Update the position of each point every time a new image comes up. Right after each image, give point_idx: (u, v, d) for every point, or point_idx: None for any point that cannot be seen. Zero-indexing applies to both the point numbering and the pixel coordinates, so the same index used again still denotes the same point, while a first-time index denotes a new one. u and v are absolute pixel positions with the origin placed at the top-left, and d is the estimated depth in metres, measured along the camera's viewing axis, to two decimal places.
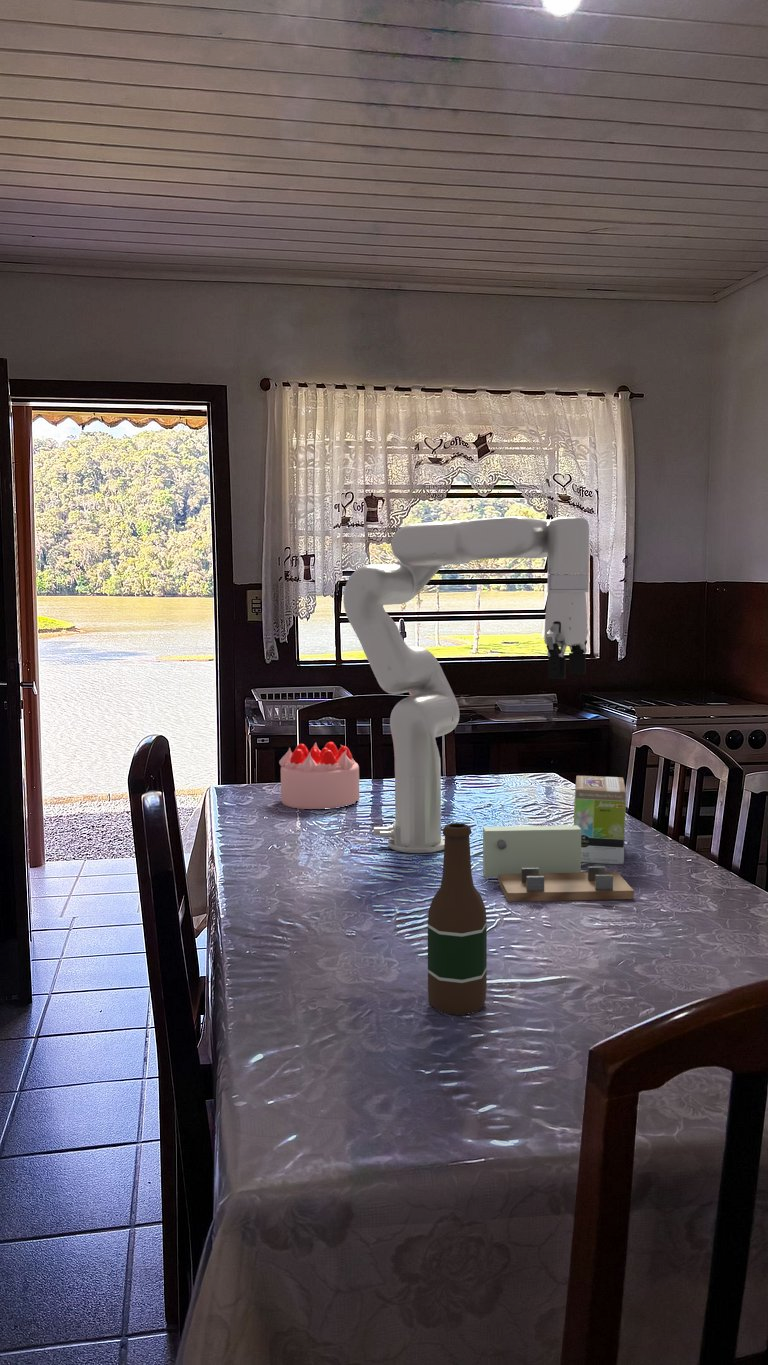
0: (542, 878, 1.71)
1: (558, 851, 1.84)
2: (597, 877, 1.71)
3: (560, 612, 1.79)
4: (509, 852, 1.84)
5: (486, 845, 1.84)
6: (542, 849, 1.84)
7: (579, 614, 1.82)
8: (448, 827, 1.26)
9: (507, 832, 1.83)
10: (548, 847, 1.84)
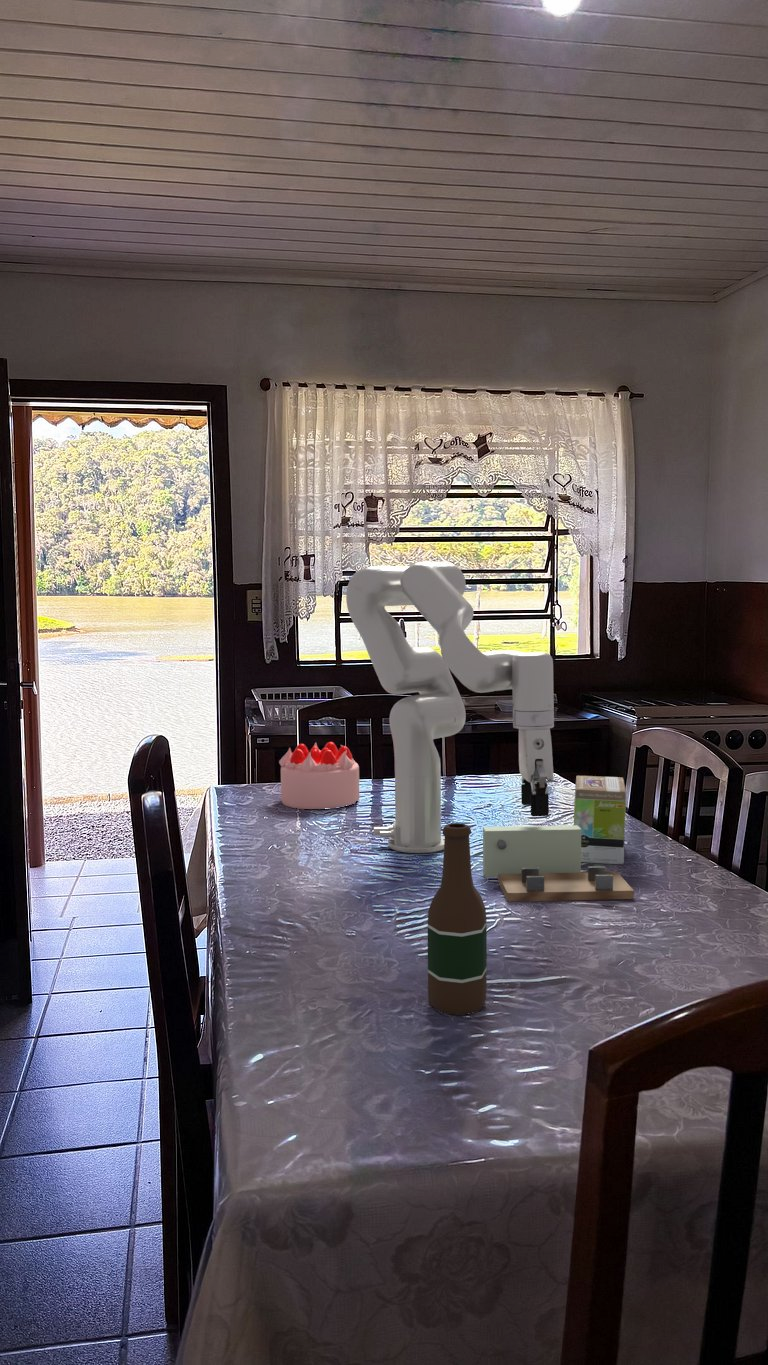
0: (542, 878, 1.71)
1: (558, 851, 1.84)
2: (597, 877, 1.71)
3: None
4: (509, 852, 1.84)
5: (486, 845, 1.84)
6: (542, 849, 1.84)
7: (520, 749, 1.84)
8: (448, 827, 1.26)
9: (507, 832, 1.83)
10: (548, 847, 1.84)
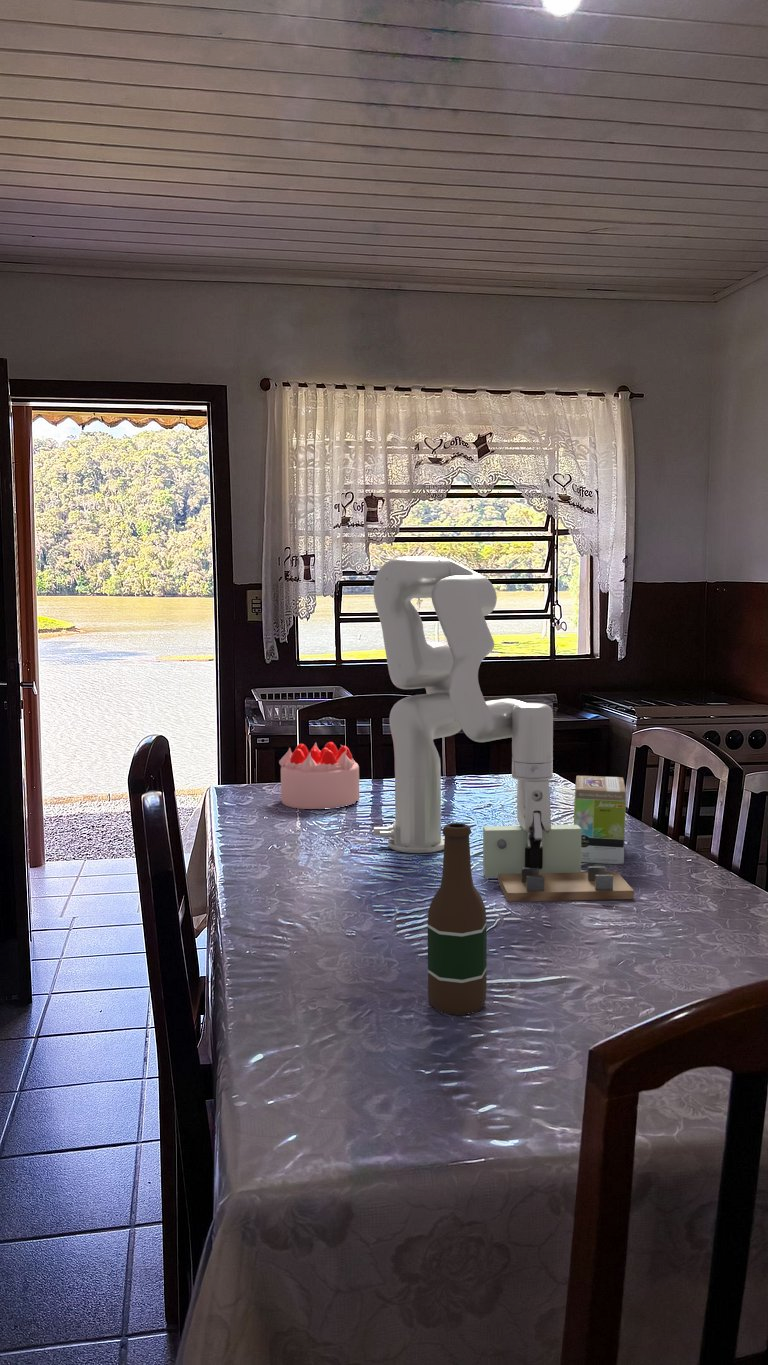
0: (542, 878, 1.71)
1: (558, 850, 1.84)
2: (597, 877, 1.71)
3: None
4: (510, 851, 1.84)
5: (486, 844, 1.83)
6: None
7: (518, 798, 1.85)
8: (448, 827, 1.26)
9: (507, 831, 1.83)
10: (548, 847, 1.84)
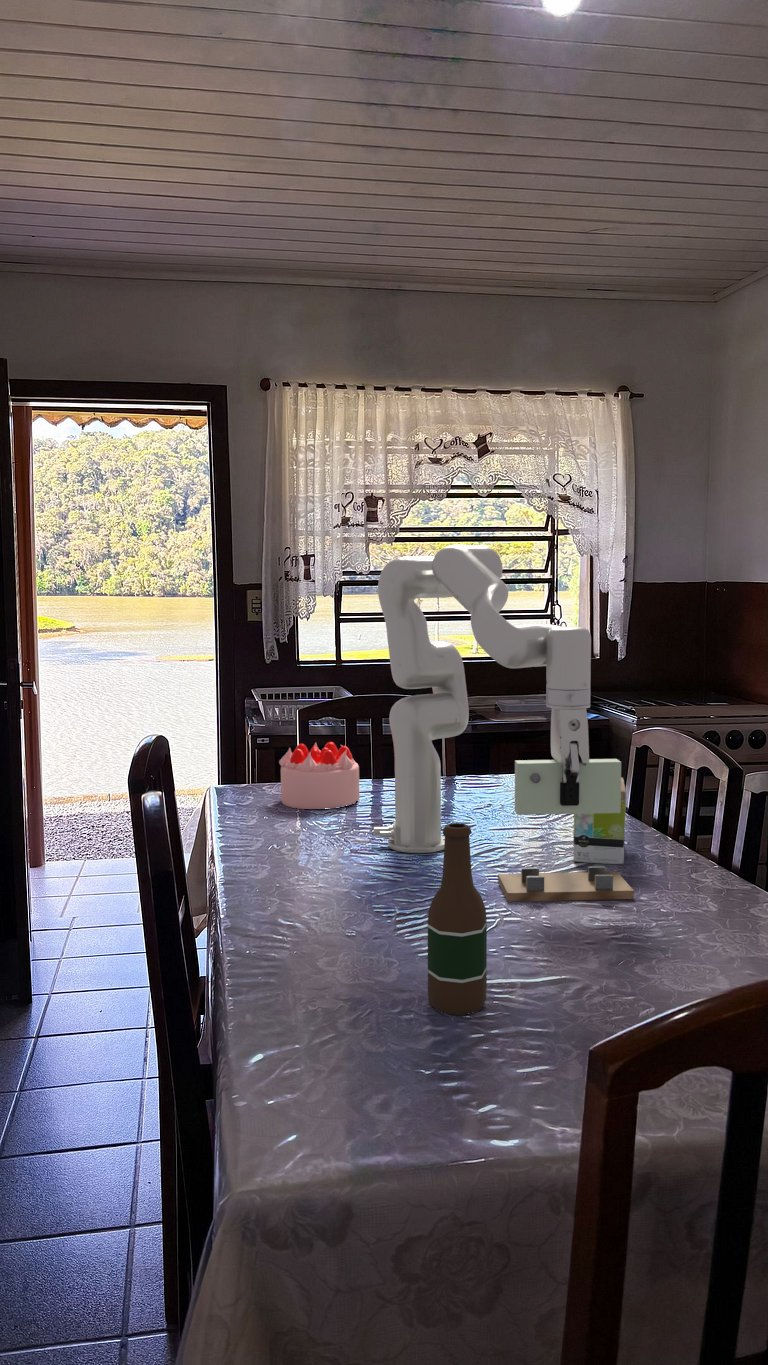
0: (542, 878, 1.71)
1: (596, 785, 1.71)
2: (597, 877, 1.71)
3: None
4: (544, 786, 1.71)
5: (519, 779, 1.70)
6: (579, 783, 1.71)
7: (553, 730, 1.71)
8: (448, 827, 1.26)
9: (541, 765, 1.70)
10: (586, 781, 1.71)
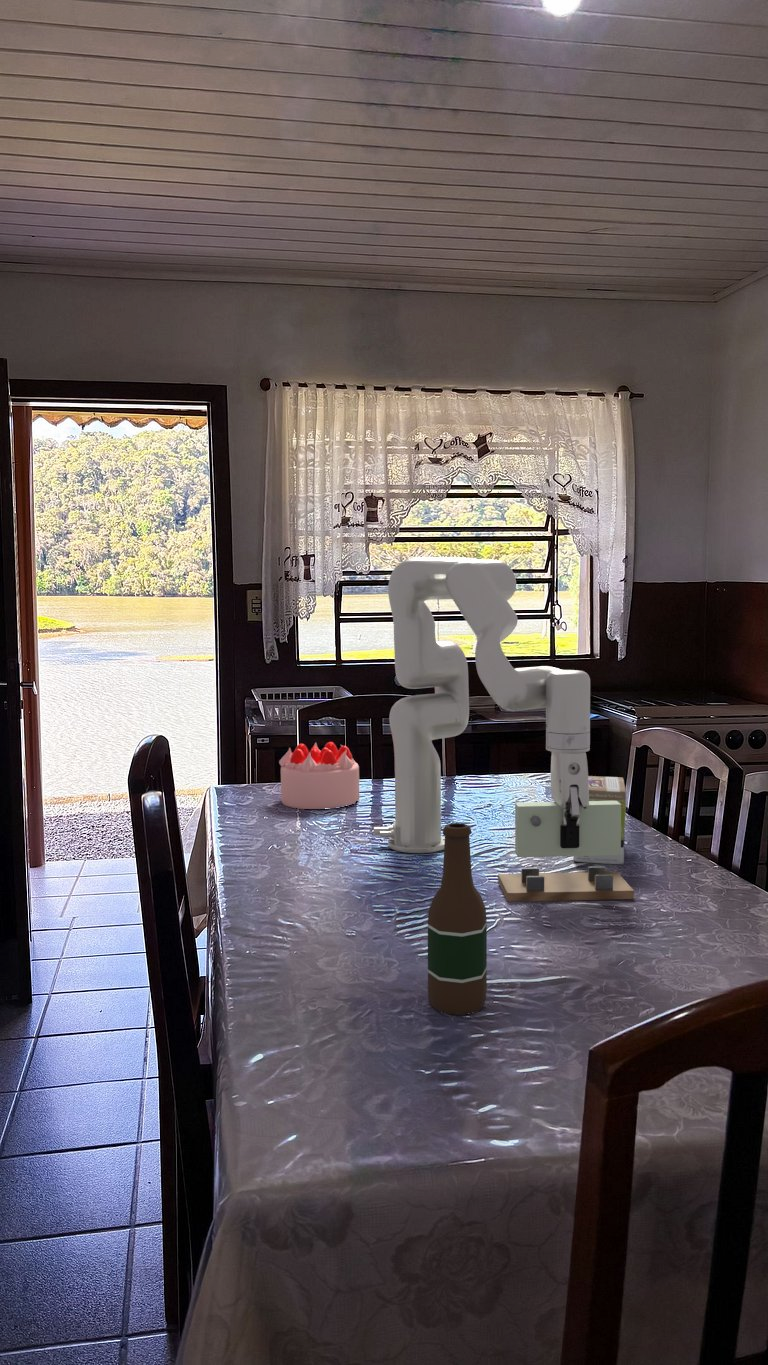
0: (542, 878, 1.71)
1: (596, 828, 1.71)
2: (597, 877, 1.71)
3: None
4: (544, 829, 1.71)
5: (519, 822, 1.71)
6: (579, 825, 1.71)
7: (553, 772, 1.72)
8: (448, 827, 1.26)
9: (541, 808, 1.71)
10: (586, 824, 1.71)
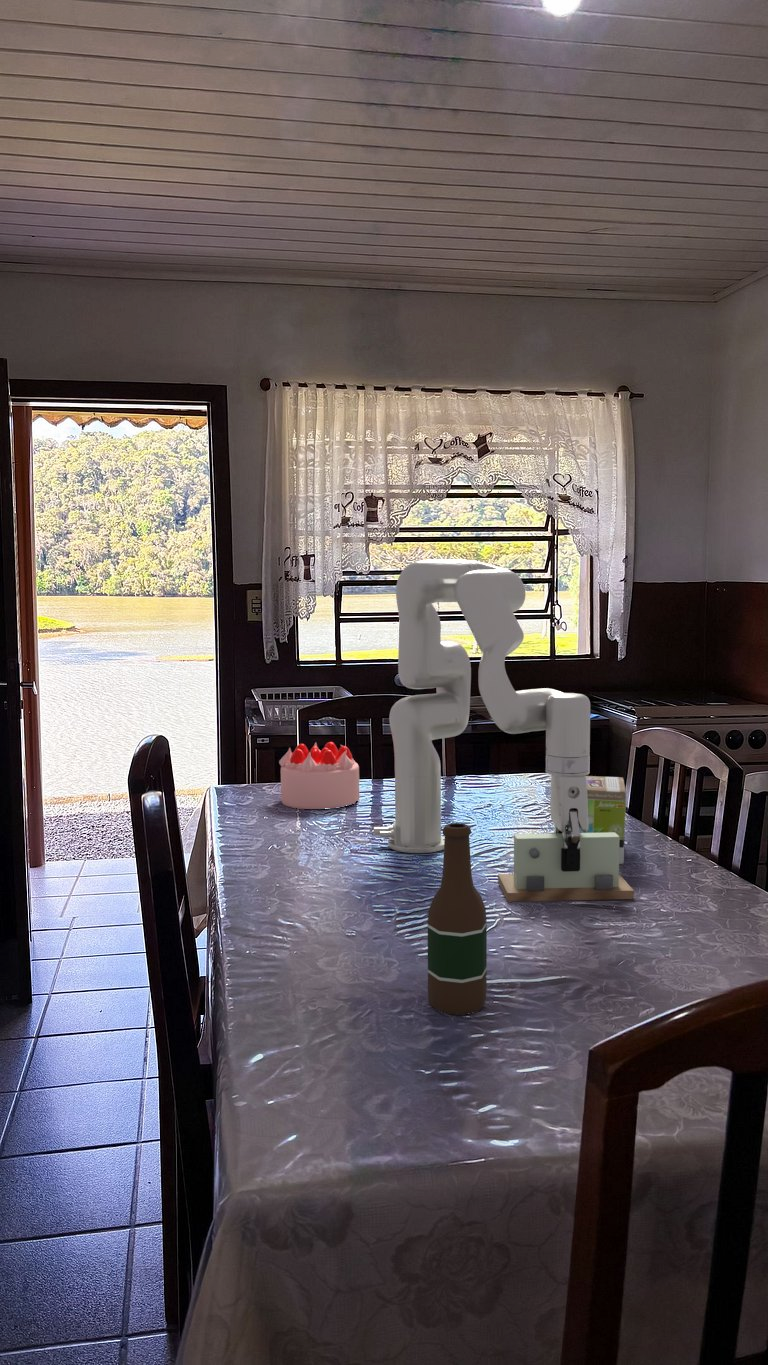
0: (542, 878, 1.71)
1: (594, 860, 1.72)
2: (597, 877, 1.71)
3: None
4: (543, 861, 1.72)
5: (518, 854, 1.72)
6: None
7: (552, 795, 1.73)
8: (448, 827, 1.26)
9: (540, 840, 1.72)
10: (584, 856, 1.72)
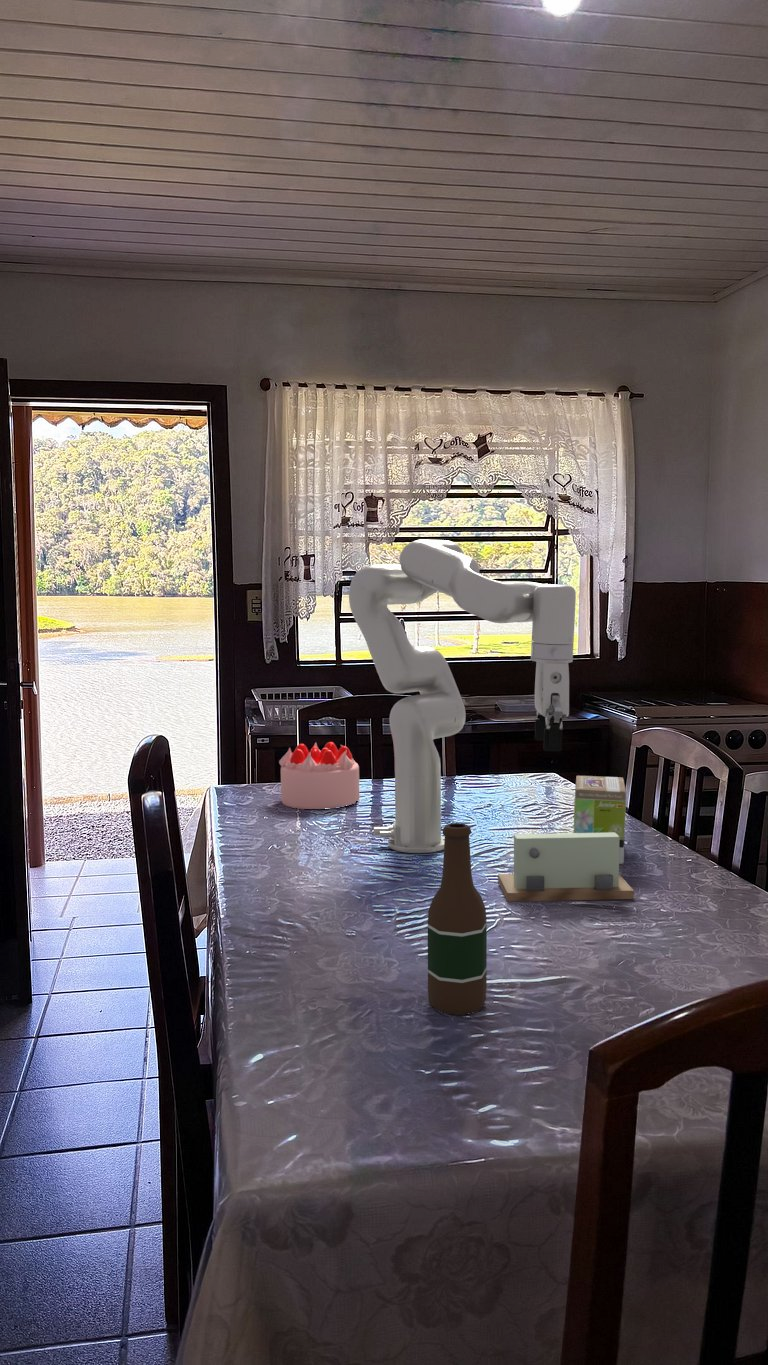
0: (542, 878, 1.71)
1: (594, 860, 1.72)
2: (597, 877, 1.71)
3: None
4: (543, 861, 1.72)
5: (518, 854, 1.72)
6: (577, 857, 1.72)
7: (536, 682, 1.80)
8: (448, 827, 1.26)
9: (540, 840, 1.72)
10: (584, 856, 1.72)
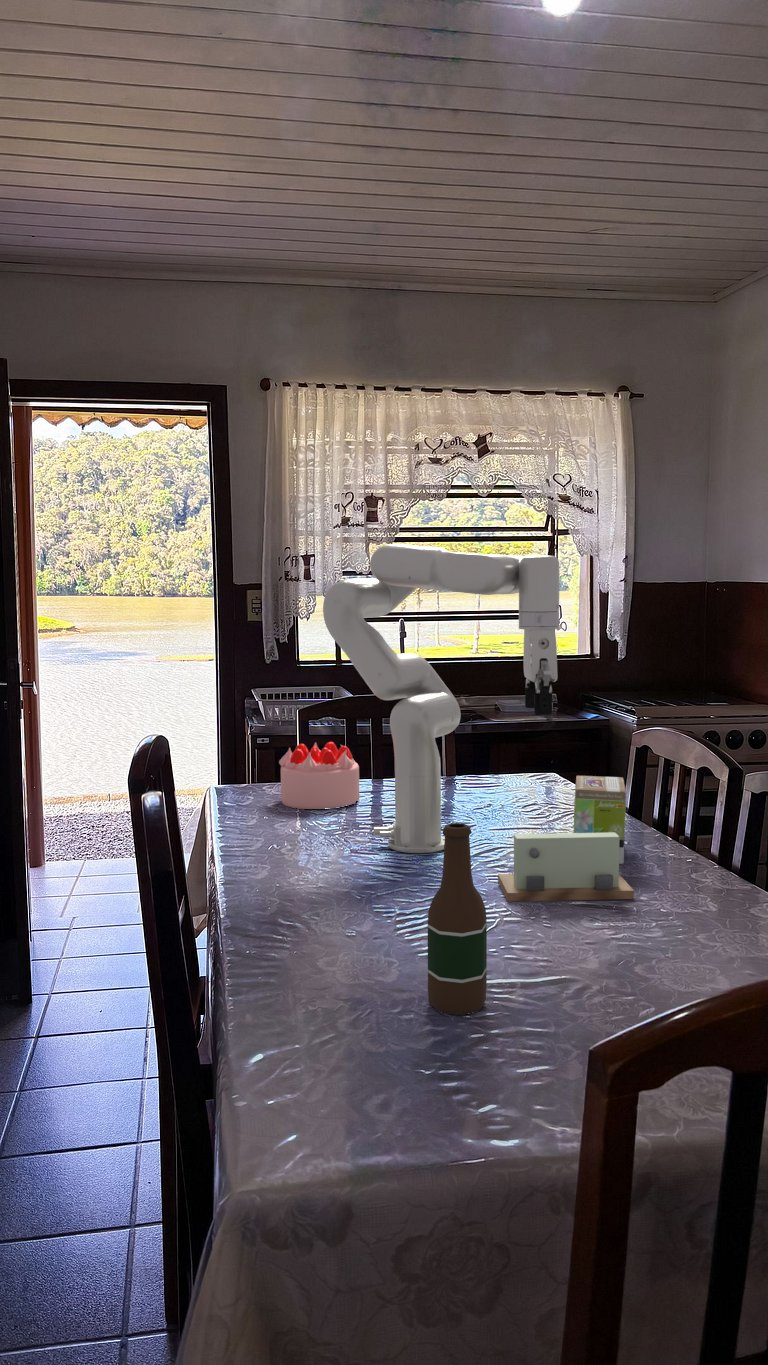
0: (542, 878, 1.71)
1: (594, 860, 1.72)
2: (597, 877, 1.71)
3: None
4: (543, 861, 1.72)
5: (518, 854, 1.72)
6: (577, 857, 1.72)
7: (525, 650, 1.87)
8: (448, 827, 1.26)
9: (540, 840, 1.72)
10: (584, 856, 1.72)
